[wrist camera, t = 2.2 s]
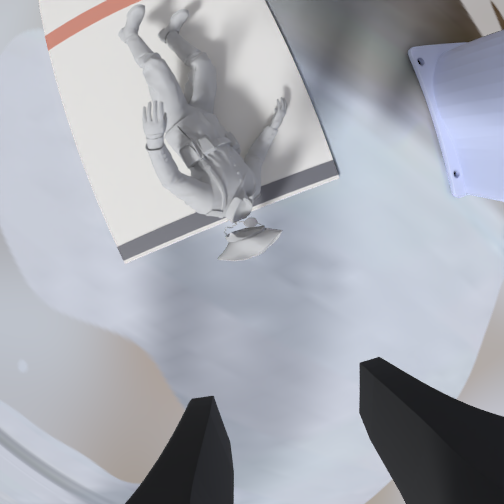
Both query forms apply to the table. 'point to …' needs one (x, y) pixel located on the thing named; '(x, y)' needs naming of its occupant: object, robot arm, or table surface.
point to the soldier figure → (200, 138)
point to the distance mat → (226, 100)
